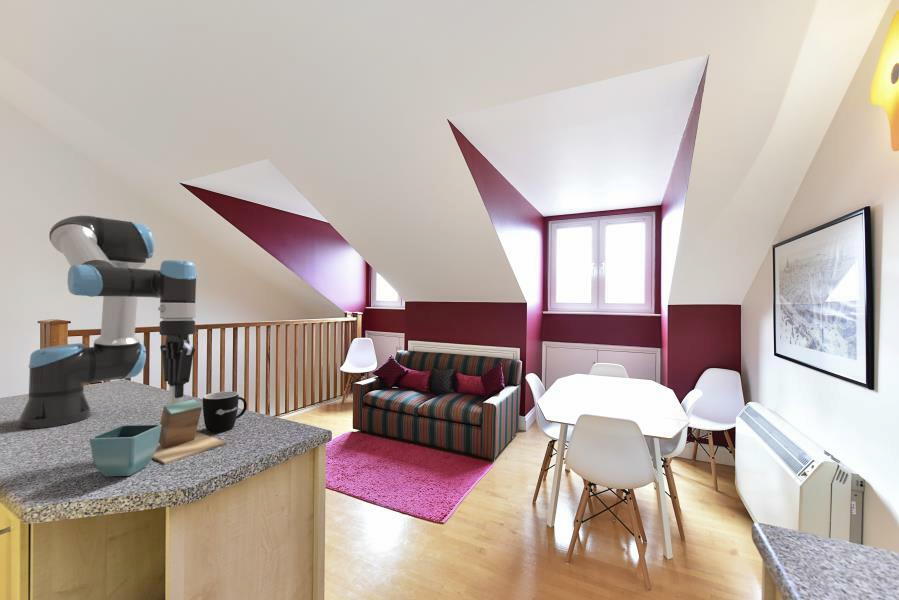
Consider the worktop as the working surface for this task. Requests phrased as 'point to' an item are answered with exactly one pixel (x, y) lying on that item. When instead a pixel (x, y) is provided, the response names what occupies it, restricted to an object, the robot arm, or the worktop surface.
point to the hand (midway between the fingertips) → (176, 409)
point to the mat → (187, 448)
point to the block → (179, 423)
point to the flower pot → (125, 449)
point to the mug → (221, 410)
